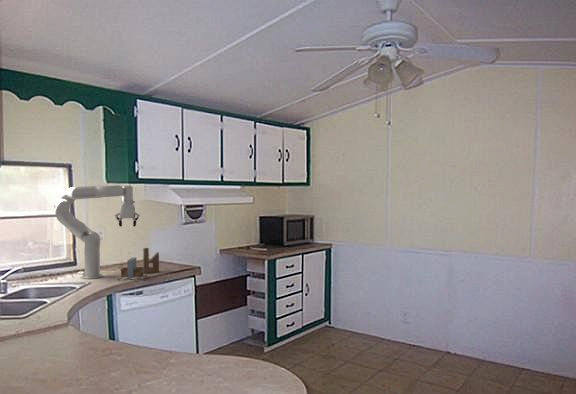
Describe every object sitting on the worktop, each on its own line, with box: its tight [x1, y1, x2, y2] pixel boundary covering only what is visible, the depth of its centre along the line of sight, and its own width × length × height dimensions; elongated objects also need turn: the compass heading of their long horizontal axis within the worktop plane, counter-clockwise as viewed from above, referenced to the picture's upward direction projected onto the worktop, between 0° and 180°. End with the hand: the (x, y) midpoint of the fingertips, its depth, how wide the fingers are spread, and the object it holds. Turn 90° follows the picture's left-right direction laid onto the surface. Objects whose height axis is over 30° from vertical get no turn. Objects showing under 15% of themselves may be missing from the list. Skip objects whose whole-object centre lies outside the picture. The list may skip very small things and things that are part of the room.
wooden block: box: [142, 247, 160, 274], centre depth 301 cm, size 4×11×18 cm, turn 126°
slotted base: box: [117, 266, 147, 281], centre depth 283 cm, size 16×11×7 cm
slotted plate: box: [127, 257, 137, 278], centre depth 283 cm, size 3×11×12 cm, turn 6°
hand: (127, 226), depth 300 cm, fingers open, 9 cm apart
